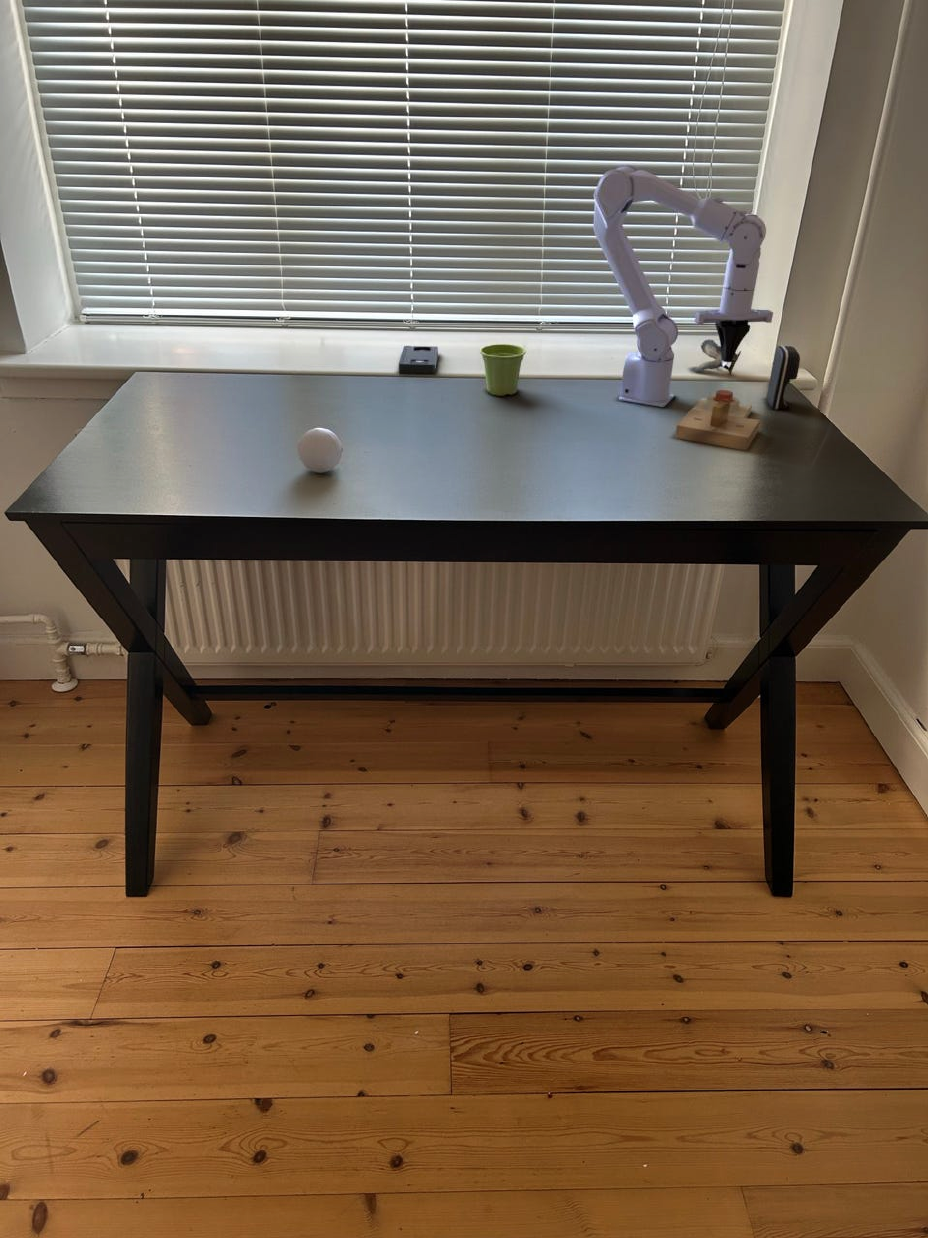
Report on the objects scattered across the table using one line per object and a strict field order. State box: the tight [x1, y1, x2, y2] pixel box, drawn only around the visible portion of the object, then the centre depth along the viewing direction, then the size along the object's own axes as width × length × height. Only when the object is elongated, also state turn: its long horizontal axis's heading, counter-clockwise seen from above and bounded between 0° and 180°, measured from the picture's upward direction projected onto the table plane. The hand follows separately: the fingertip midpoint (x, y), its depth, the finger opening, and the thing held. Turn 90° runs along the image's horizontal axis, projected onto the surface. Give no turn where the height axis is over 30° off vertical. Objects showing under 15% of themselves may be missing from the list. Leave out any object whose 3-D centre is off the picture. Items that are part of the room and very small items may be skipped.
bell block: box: [692, 394, 753, 418], centre depth 173 cm, size 10×8×3 cm
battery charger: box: [765, 345, 801, 410], centre depth 175 cm, size 7×4×11 cm, turn 174°
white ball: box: [297, 427, 344, 474], centre depth 148 cm, size 10×7×7 cm
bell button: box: [715, 389, 734, 402], centre depth 172 cm, size 3×3×2 cm
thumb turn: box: [710, 398, 731, 427], centre depth 161 cm, size 5×1×4 cm, turn 144°
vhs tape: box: [398, 345, 439, 374], centre depth 200 cm, size 14×8×2 cm, turn 179°
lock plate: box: [674, 408, 761, 451], centre depth 163 cm, size 13×10×3 cm
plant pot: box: [479, 343, 527, 397], centre depth 182 cm, size 9×9×9 cm
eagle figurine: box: [691, 338, 742, 376], centre depth 195 cm, size 8×7×9 cm
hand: (726, 360), depth 171 cm, fingers closed
